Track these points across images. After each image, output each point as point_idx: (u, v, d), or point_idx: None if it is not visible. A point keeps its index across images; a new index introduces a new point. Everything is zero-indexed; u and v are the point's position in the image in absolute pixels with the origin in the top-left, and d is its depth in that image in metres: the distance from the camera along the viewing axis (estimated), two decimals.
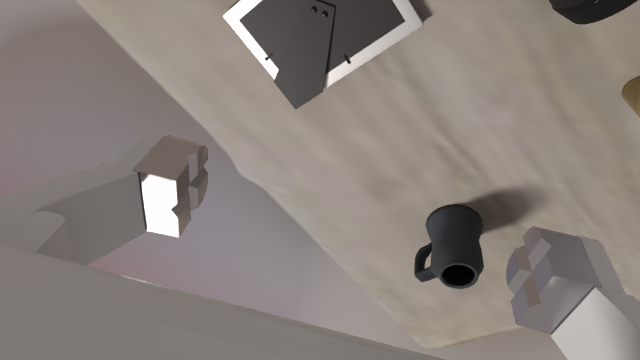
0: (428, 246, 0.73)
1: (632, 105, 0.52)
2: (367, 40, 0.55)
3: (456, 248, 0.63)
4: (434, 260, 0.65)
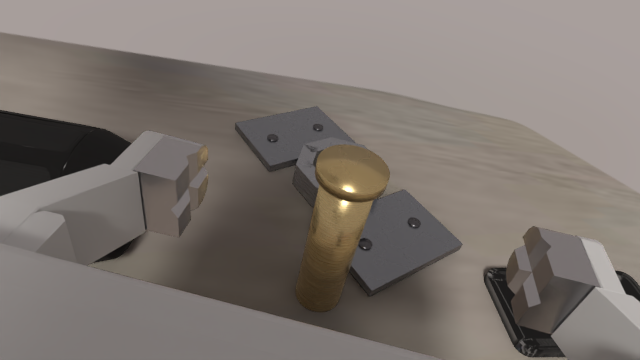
0: None
1: (315, 281, 0.30)
2: None
3: None
4: None
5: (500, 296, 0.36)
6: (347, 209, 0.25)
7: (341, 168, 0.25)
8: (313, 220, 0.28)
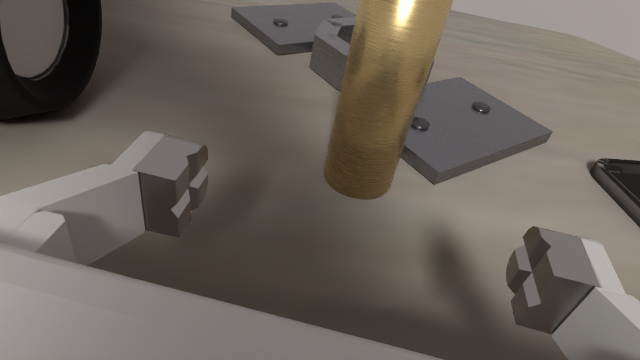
0: None
1: (359, 135, 0.19)
2: None
3: None
4: None
5: (624, 189, 0.24)
6: None
7: None
8: (361, 9, 0.16)
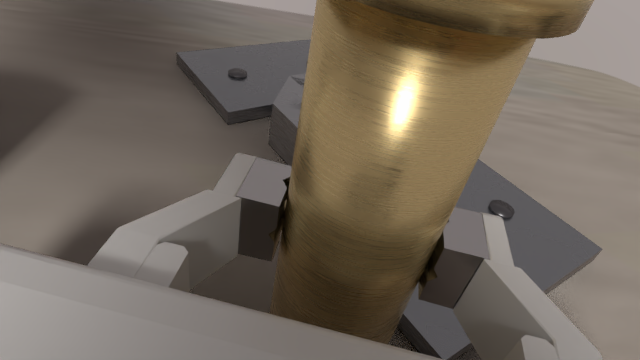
0: None
1: None
2: None
3: None
4: None
5: None
6: (431, 95, 0.06)
7: None
8: (295, 169, 0.08)
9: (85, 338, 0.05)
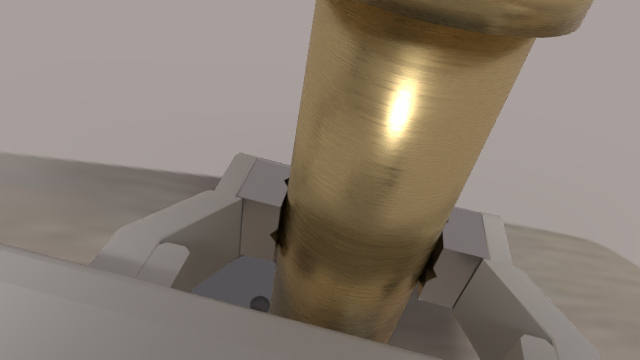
0: None
1: None
2: None
3: None
4: None
5: None
6: (431, 94, 0.06)
7: None
8: (295, 168, 0.08)
9: (85, 338, 0.05)
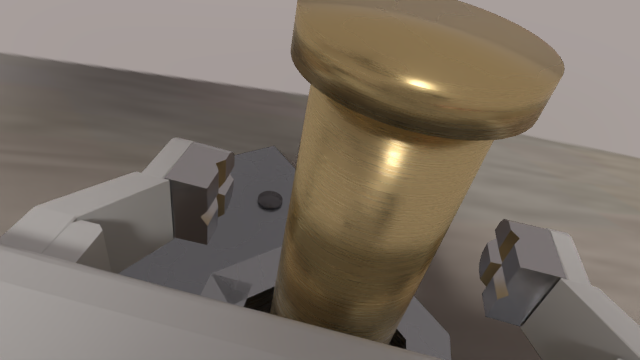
0: None
1: None
2: None
3: None
4: None
5: None
6: (409, 176, 0.07)
7: (388, 23, 0.07)
8: (291, 221, 0.09)
9: (85, 338, 0.05)
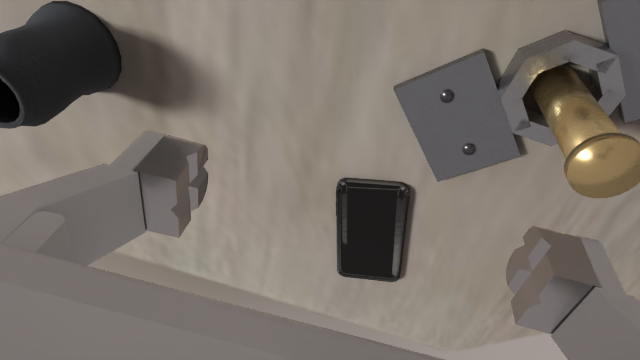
0: None
1: (548, 90, 0.34)
2: None
3: (19, 54, 0.33)
4: None
5: (382, 186, 0.45)
6: (570, 148, 0.28)
7: (607, 159, 0.26)
8: (589, 111, 0.29)
9: (85, 338, 0.05)
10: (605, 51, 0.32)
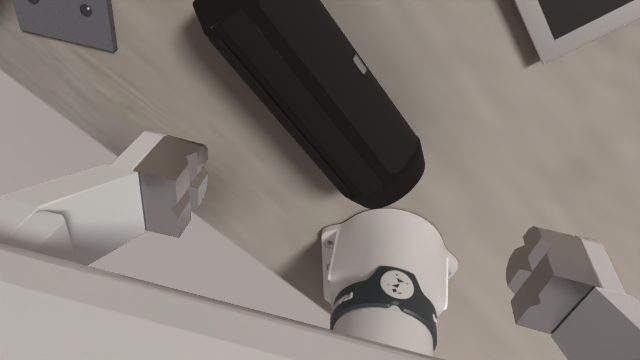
0: None
1: None
2: None
3: None
4: None
5: None
6: None
7: None
8: None
9: (85, 338, 0.05)
10: None
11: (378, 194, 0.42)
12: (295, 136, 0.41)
